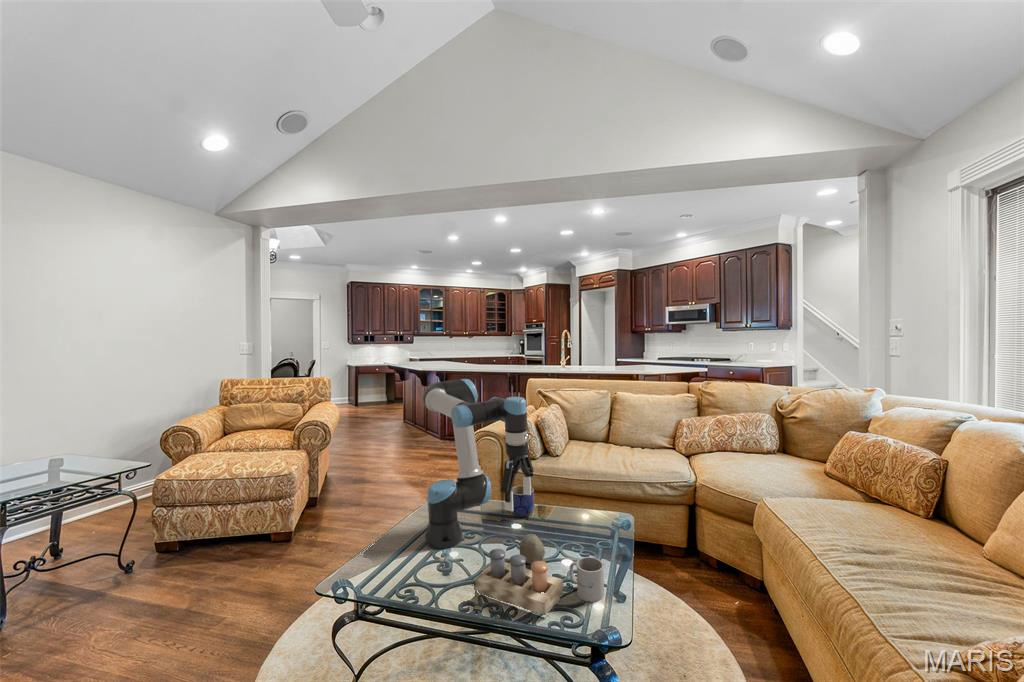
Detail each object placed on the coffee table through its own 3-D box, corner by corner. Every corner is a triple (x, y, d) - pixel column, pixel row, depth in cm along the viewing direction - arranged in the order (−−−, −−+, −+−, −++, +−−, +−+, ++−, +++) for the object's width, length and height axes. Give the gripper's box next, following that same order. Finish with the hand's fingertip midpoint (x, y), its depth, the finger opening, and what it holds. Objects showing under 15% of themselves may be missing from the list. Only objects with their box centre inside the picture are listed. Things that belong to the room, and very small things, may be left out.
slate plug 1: (487, 574, 152) (486, 554, 151) (495, 566, 156) (494, 547, 156) (500, 579, 149) (499, 559, 148) (509, 570, 153) (508, 551, 153)
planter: (505, 514, 205) (504, 491, 204) (521, 506, 213) (520, 483, 212) (524, 521, 198) (523, 496, 197) (539, 512, 206) (538, 488, 205)
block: (475, 593, 150) (474, 579, 150) (496, 572, 161) (496, 559, 161) (545, 618, 136) (544, 603, 136) (563, 594, 148) (562, 579, 147)
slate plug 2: (507, 581, 147) (506, 561, 147) (515, 572, 152) (514, 553, 151) (521, 586, 145) (520, 565, 144) (529, 577, 149) (528, 557, 149)
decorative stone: (515, 558, 169) (514, 533, 169) (534, 552, 173) (534, 527, 172) (528, 572, 160) (527, 546, 159) (548, 565, 164) (547, 539, 163)
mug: (609, 594, 147) (609, 565, 146) (590, 605, 142) (589, 575, 141) (583, 576, 157) (582, 549, 156) (564, 586, 152) (563, 558, 151)
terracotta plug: (528, 588, 143) (527, 567, 143) (536, 579, 148) (535, 559, 147) (543, 593, 140) (542, 572, 140) (551, 584, 145) (550, 563, 145)
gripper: (508, 455, 142) (511, 519, 144) (541, 433, 164) (543, 489, 166) (488, 452, 146) (491, 515, 147) (523, 431, 167) (525, 486, 169)
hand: (518, 502), depth 157 cm, fingers open, 13 cm apart
